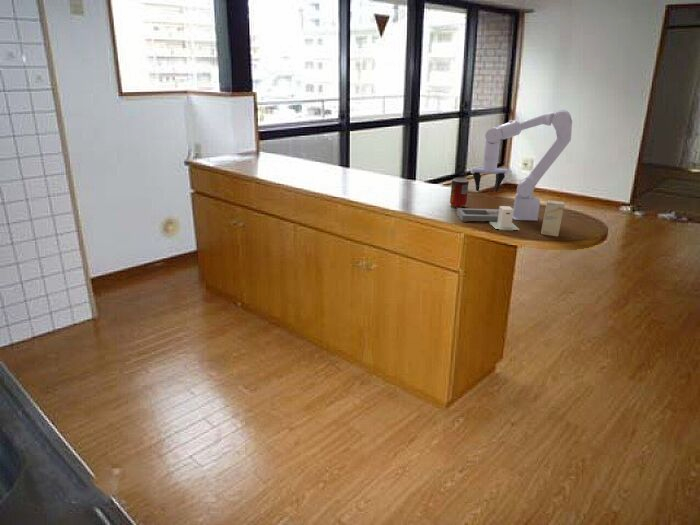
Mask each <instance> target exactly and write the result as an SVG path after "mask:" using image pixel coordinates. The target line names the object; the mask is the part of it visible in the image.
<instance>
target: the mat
mask: <svg viewBox="0 0 700 525" xmlns="http://www.w3.org/2000/svg"><path fill="white" fill-rule="evenodd" d="M488 223H489V225H490V226H491V225H492V226H493V227H494V228H495V229H499V230H498V231H513V230H518V232H519V231H520V228H519V227H517V225H515V223H513V222H512V226H511V228H507V227H500V226H499V225H498V224H497V222H488ZM492 226H491V227H492ZM493 227H492V228H493ZM494 228H493V229H494ZM495 229H494V230H495Z"/></svg>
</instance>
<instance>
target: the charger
mask: <svg viewBox="0 0 700 525" xmlns="http://www.w3.org/2000/svg"><path fill="white" fill-rule="evenodd" d="M498 209H499V214H498V221H497V224H498V225H499V226H500V227H507V228H511V226H512V223H513V220H514V219H513V212H514V208H513V207H511V206H510V205H499V208H498Z"/></svg>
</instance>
